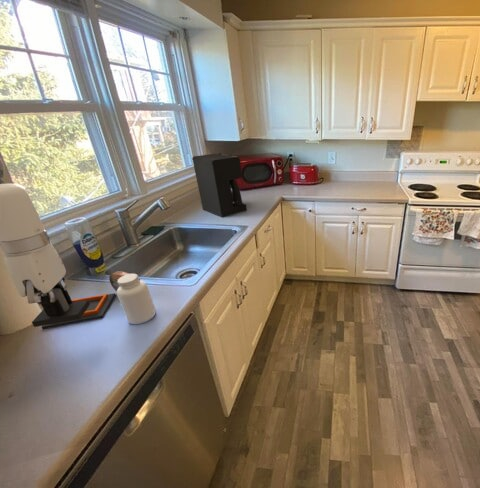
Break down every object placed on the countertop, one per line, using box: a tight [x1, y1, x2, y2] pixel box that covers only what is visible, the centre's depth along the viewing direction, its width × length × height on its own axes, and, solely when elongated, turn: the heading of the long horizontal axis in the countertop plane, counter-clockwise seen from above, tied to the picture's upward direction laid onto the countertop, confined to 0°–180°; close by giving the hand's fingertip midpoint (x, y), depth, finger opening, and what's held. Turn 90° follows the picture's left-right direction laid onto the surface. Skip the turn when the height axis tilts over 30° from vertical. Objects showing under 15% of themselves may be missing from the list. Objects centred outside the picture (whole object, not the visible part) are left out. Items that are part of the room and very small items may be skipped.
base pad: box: [41, 292, 117, 330], centre depth 94 cm, size 16×13×2 cm
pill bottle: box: [116, 273, 157, 325], centre depth 88 cm, size 8×8×15 cm
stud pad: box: [31, 288, 90, 328], centre depth 68 cm, size 9×6×7 cm, turn 108°
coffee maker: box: [191, 153, 248, 218], centre depth 180 cm, size 28×20×35 cm
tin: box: [108, 270, 141, 292], centre depth 101 cm, size 15×3×8 cm, turn 67°
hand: (60, 309), depth 69 cm, fingers closed on stud pad, 3 cm apart
